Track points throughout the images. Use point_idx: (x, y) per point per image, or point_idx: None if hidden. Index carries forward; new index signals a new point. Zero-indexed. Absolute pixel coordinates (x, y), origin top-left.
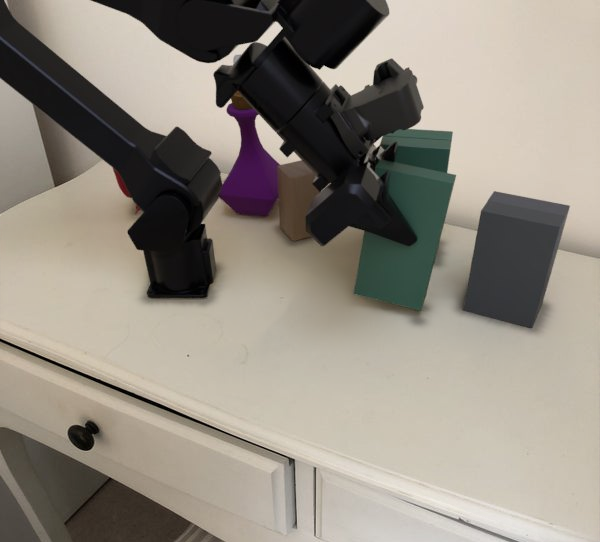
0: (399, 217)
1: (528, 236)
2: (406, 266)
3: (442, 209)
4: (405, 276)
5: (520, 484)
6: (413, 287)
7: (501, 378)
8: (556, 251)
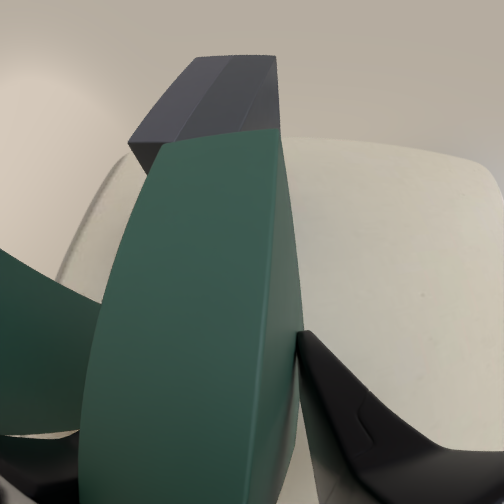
0: (367, 388)
1: (268, 102)
2: None
3: (292, 227)
4: None
5: (487, 201)
6: None
7: (389, 213)
8: None
